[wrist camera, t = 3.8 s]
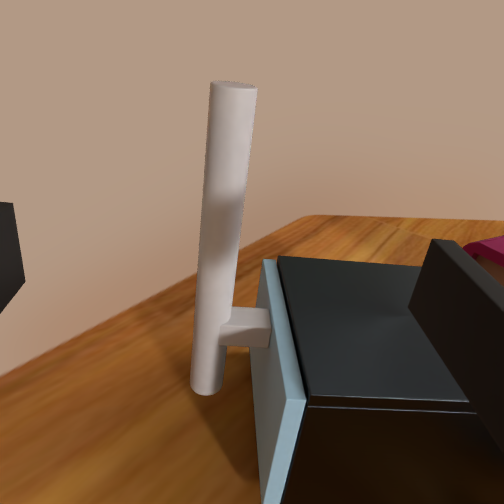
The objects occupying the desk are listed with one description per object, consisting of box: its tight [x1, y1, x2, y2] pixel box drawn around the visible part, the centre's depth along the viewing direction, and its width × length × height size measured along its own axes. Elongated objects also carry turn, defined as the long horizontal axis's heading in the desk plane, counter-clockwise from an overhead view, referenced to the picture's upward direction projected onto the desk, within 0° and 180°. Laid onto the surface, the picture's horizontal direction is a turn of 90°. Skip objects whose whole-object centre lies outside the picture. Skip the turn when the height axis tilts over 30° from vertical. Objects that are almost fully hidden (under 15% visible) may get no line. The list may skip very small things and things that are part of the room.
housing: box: [277, 256, 504, 504], centre depth 29 cm, size 16×14×10 cm
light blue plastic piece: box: [190, 81, 306, 504], centre depth 25 cm, size 20×14×22 cm
